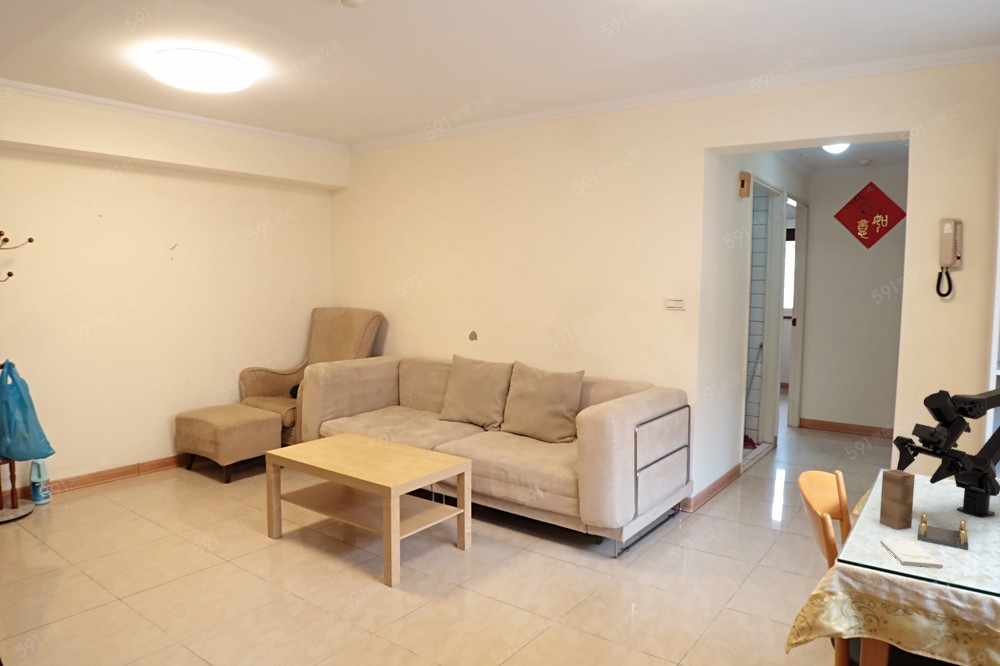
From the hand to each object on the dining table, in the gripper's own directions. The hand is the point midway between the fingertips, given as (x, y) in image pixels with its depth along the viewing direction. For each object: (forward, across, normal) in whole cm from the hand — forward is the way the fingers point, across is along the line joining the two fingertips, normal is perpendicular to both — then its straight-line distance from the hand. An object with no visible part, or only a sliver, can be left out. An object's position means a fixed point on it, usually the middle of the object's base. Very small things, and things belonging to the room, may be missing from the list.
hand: (913, 477), depth 168 cm
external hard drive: (+23, +15, -5) cm, 28 cm away
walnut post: (+13, 0, +5) cm, 14 cm away
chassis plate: (+10, +10, +7) cm, 16 cm away
